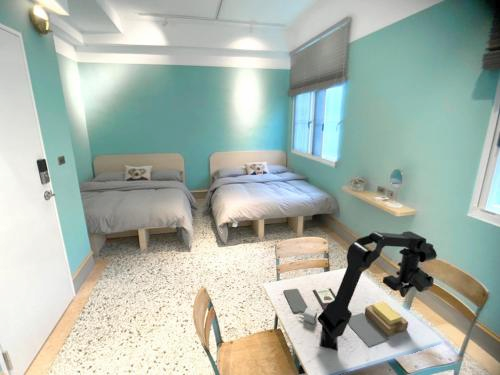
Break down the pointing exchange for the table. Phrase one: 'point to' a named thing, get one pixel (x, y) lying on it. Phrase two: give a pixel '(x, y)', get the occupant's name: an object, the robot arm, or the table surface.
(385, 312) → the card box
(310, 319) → the usb wall charger
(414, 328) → the table surface
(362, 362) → the table surface
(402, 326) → the block
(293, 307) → the smartphone
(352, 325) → the mat
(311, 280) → the table surface
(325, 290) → the chocolate bar
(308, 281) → the table surface
